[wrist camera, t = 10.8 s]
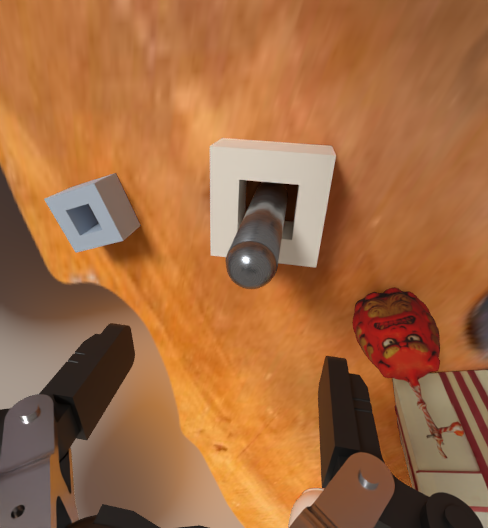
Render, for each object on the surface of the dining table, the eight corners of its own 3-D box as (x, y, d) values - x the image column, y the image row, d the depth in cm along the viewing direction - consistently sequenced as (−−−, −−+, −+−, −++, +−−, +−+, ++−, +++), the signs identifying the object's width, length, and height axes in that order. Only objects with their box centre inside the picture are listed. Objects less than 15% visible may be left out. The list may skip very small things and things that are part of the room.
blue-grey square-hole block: (69, 187, 35) (44, 199, 32) (115, 173, 33) (93, 183, 30) (96, 237, 38) (75, 252, 34) (140, 225, 36) (123, 240, 32)
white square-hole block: (222, 138, 30) (209, 146, 26) (331, 145, 29) (336, 155, 25) (221, 236, 35) (210, 255, 31) (314, 246, 34) (316, 267, 30)
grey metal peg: (256, 178, 31) (220, 248, 18) (289, 181, 31) (278, 255, 17) (254, 209, 33) (219, 296, 19) (286, 212, 32) (272, 303, 19)
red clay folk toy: (415, 275, 34) (484, 395, 21) (430, 325, 36) (501, 460, 23) (342, 296, 36) (364, 415, 23) (362, 342, 39) (391, 471, 26)
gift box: (356, 378, 42) (385, 541, 27) (526, 354, 36) (682, 545, 21) (383, 457, 49) (417, 622, 34) (529, 448, 43) (649, 642, 28)
